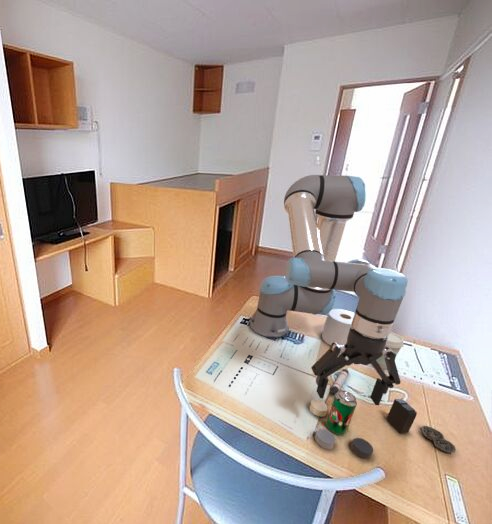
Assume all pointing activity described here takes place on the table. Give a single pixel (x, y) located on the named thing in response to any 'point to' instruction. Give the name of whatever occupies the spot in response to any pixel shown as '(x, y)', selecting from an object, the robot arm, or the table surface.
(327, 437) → the grey cap
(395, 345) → the coffee cup
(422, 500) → the table surface
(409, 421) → the ink cartridge
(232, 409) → the table surface
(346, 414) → the soda can
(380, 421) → the table surface
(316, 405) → the cream cap
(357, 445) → the charcoal cap
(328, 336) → the toilet paper roll
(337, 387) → the marker
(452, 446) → the corroded twin loop
